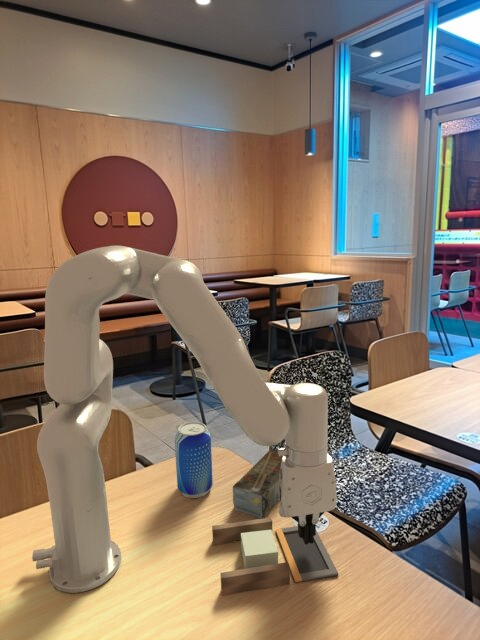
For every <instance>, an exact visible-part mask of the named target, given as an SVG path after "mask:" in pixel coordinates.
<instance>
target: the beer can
mask: <svg viewBox="0 0 480 640" xmlns="http://www.w3.org/2000/svg"><path fill="white" fill-rule="evenodd" d="M211 435H212V434H211V433H210V431H209V430H208V429H207V426H206V424H205V423H203V422H199V421H188V422H185V423H182V424H181V425H180V426H178V429H177V432H176V434H175V436H174V450H175V451H174V452H175V465H176V466H175V467H176V469H175V471H176V484H177V485H176V487H177V489H178V491H179V492H180V494H182V496H184V497H186V498H188V499H196V498H197V499H198V498H202V497H204V496H206V495H208V493H209V491H211V489H212V487H213V483H214V481H213V462H212V461H213V460H212V459H213V457H212V438H211V437H212V436H211Z"/></svg>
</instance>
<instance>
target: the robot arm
mask: <svg viewBox="0 0 480 640" xmlns="http://www.w3.org/2000/svg"><path fill="white" fill-rule="evenodd" d="M46 285H47V286H46V289H45V296H44V316H45V317H44V322H45V323H44V346H43V347H44V348H43V349H44V353H43V354H44V355H43V356H44V359H43V360H44V361H43V381H44V386H45V387H44V388H45V389H46V392H47V394H48V395H49V397H50V398H51V399H52V400H53V401H54V402H56V403H59V405H58V406H57V407H56V408H55V410H54V411H52V412H51V414H50V415H49V417H48V418H47V419H46V420H45V421H44V423H43V424H42V426H41V428H40V430H39V433H38V436H37V442H36V449H37V455H38V458H39V461H40V464H41V467H42V469H43V472H44V473H43V474H44V477H45V481H46V487H47V494H48V495H47V496H48V500H49V508H50V516H51V521H52V522H51V523H52V530H53V538H54V545H51V547H50V548H39V549H34V550H33V551H32V555H31V557H32V562H36V563H35V568H36V570H39V569H40V570H41V569H45V568H49V571H48V573H49V579H50V583H51V584H52V585H53V587H54V588H56V589H57V590H59V591H61V592H64V593H70V594H71V593H72V594H73V593H75V594H76V593H83V592H86V591H90V590H93V589H95V588H97V587H100V586H102V585H103V584H105V583H106V582H107V581H108V580H109V579H111V578H112V577H113V576H114V574H116V572H117V571H118V569H119V567H120V565H121V560H122V552H121V549H120V547H119V545H118V544H117V543H116V542H115V541H113V540H112V539H111V529H110V519H109V511H108V500H107V492H106V491H107V488H106V484H105V483H106V481H105V473H104V466H103V464H102V460H101V457H100V453H99V444H100V440H101V439H102V436H103V434H104V432H105V430H106V428H107V427H108V425H109V422H110V419H111V415H112V405H113V403H112V402H113V380H114V379H113V377H114V360H113V355H112V352H111V351H112V350H110V347H109V346H108V345H107V344H106V343H105V341H103V340H102V339H100V332H101V320H100V309H101V307H102V305H103V304H105V303H108V302H110V301H113V300H116V299H118V298H120V297H121V296H123V295H125V294H126V295H132V296H135V297H141V298H143V299H144V298H145V299H149V300H153V301H154V303H155V305H156V306H157V307H158V309H159V310H160V312H161V313H162V314H163V315H164V317H165V318H166V320H167V321H168V323H169V324H170V325H171V327H172V328H173V329H174V330H175V332H176V333H177V334H178V335H179V337H180V339H181V340H182V341H183V342H184V344H185V345H186V347H187V348H188V349H189V351H190V352H191V354H192V355H193V356H194V358H195V359H196V360H197V362H198V364H199V366H200V367H201V370H202V371H203V373H204V375H205V376H206V378H207V379H208V381H209V382H210V384H211V387H212V388H213V389H214V391H215V392H216V394H217V396H218V397H219V399H220V401H221V402H222V404H223V406H224V408H225V409H226V411H228V413H229V414H230V416H231V417H232V418H233V420H234V421H235V422H236V424H237V425H238V426H239V428H240V429H241V430H242V432H243V433H244V434H245V436H247V437H248V439H250V440H251V441H252V442H254V443H255V444H257V445H259V446H263V447H272V446H276V445H278V444H280V443H281V442H282V441H284V440H285V441H284V445H283V447H281V448H277V450H278V455H279V456H283V458H282V463H281V468H280V475H279V489H278V495H279V500H278V501H279V506H278V511H277V512H278V514H279V516H280V517H281V518H291V519H293V520H294V521H295V522H297V526H298V534H299V537H300V538H302V539H303V541H304V543H305V545H306V544H308V543H311V544H312V543H314V536H315V535H316V531H317V529H316V527H317V524H318V523H319V519H320V518H321V517H322V516H323V515H324V514H325V513H326V512H331V511H332V510H334V509H335V508H336V507H337V502H338V494H337V483H336V482H337V481H336V476H335V467H334V462H333V459H332V457H331V455H329V453H328V412H329V410H328V409H329V407H328V405H329V404H328V403H329V402H328V401H329V400H328V398H329V396H328V393H327V390H326V389H325V388H324V387H322V386H321V385H319V384H316V383H311V382H299V383H294V384H283V383H275V382H267V381H266V382H265V380H264V379H263V377H262V376H261V374H260V372H259V370H258V369H257V367H256V366H255V364H254V362H253V360H252V358H251V355H250V353H249V351H248V348H247V346H246V344H245V341H244V339H243V337H242V335H241V334H240V332H239V330H238V328H237V327H236V326H235V324H234V323H233V321H232V320H231V319H230V317H229V316H228V315H227V313H226V312H225V310H224V309H223V307H222V306H221V305H220V304H219V302H218V301H217V299H216V298H215V296H214V295H213V293H212V292H211V290H210V288H208V286H207V285H206V283H205V282H204V277H203V275H202V272H201V270H200V268H198V266H196V265H195V264H194V263H192V262H190V261H189V260H185V259H183V258H178V257H172V256H168V255H163V254H158V253H155V252H150V251H146V250H143V249H137V248H133V247H129V246H124V245H109V246H108V245H107V246H101V247H97V248H94V249H90V250H86V251H83V252H81V253H79V254H76V255H74V256H73V257H70V258H69V259H67V260H66V261H64V262H63V263H62V264H60V265H59V266H58V267H57V268H56V270H55V271H54V272H53V273H52V275H51V276H50V277H49V280H48V283H47V284H46Z"/></svg>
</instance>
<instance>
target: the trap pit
mask: <svg viewBox="0 0 480 640" xmlns="http://www.w3.org/2000/svg"><path fill="white" fill-rule="evenodd" d="M275 534H276V536H277V539H278V542H279V545H280V547H281V549H282V552H283V555H284V557H285V561H286V562H288V564H289V566H290V574H291V575H292V577H293V580H294V583H295V584H297V583H298V584H299V583H303V582H304V583H305V582H309V581H316V580H323V579H327V578H328V579H329V578H333V577H334V578H335V577H339V572H338V569H337V568H336V566H335V563H334V562H333V560H332V558H331V556H330V554H329V552H328V550H327V549H326V546H325V545H324V542H323V541H322V539H321V537H320V535H319V533H318V531H317V530H316V535H315V536H314V543H312V544H311V543H308V544H306V545H305V543H304V541H303V539H302V538H300V537H299V534H298V525H296V526H288V527H282V528H276V529H275Z"/></svg>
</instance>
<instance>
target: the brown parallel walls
mask: <svg viewBox="0 0 480 640" xmlns="http://www.w3.org/2000/svg"><path fill="white" fill-rule="evenodd" d="M264 530H272V531H273V520H272V517H266V518H265V517H264V518H263V519H261V518H256V519H249V520H244V521H238V522H235V521H234V522H230V523H223V524H217V525H212V526H211V531H212V544H213V546H217V545H223V544H225V545H226V544H230V543H232V544H233V543H238V542H241V533H246V532H255V531H264ZM290 584H291V571H290V566H289V564H288V562H287V561H285V562H280V563H279V562H278V564H272V565H266V566H260V567H253V568H247V569H245V568H242V569H237V570H236V569H234V570H230V571H229V570H228V571H224V572H223V571H222V572H220V591H221V596H229V595H234V594H239V593H247V592H251V591H257V590H262V589H263V590H264V589H268V588H275V587H276V588H277V587H281V586H287V585H290Z"/></svg>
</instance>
